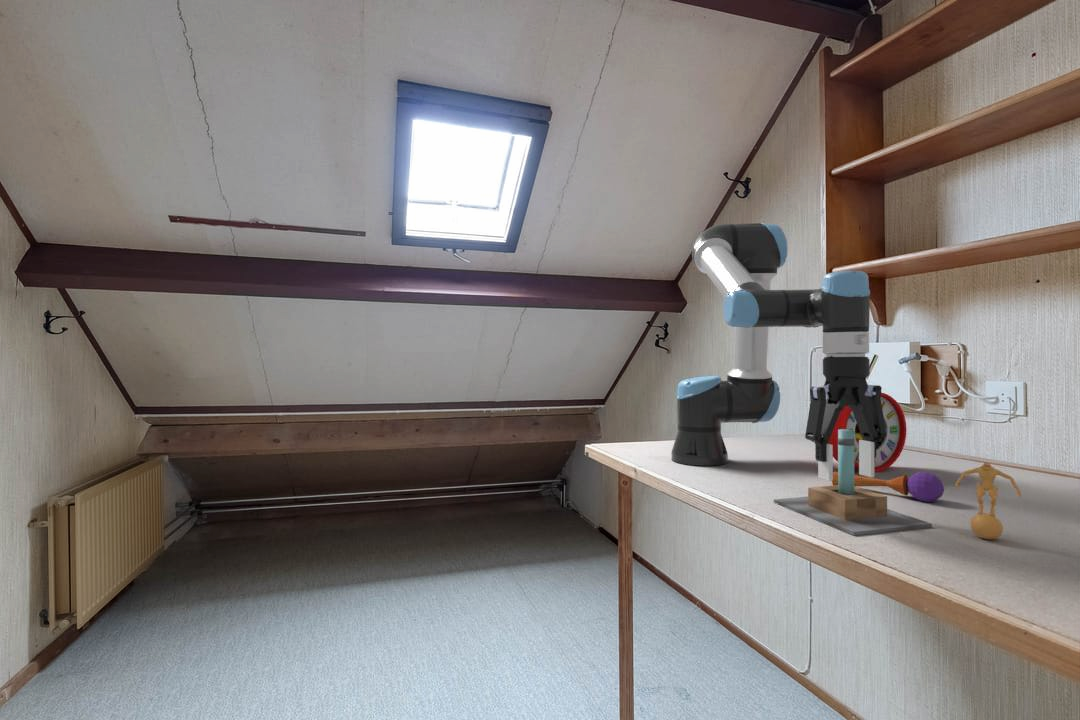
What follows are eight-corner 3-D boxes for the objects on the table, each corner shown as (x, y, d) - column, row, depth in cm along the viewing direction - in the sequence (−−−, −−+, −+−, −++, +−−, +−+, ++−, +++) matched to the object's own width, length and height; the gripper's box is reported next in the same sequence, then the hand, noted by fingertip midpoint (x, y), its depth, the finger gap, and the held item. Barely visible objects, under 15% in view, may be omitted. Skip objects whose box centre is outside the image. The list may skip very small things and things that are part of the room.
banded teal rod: (834, 509, 100) (834, 429, 99) (846, 508, 100) (846, 429, 100) (845, 513, 97) (845, 431, 97) (858, 512, 98) (858, 431, 97)
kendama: (839, 466, 122) (946, 473, 107) (839, 492, 121) (947, 504, 106) (829, 464, 118) (938, 472, 103) (829, 492, 117) (939, 504, 102)
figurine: (952, 536, 86) (952, 462, 86) (956, 526, 91) (956, 457, 91) (1021, 548, 81) (1021, 469, 81) (1021, 537, 85) (1021, 463, 85)
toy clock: (843, 475, 129) (843, 393, 128) (824, 470, 134) (824, 391, 134) (906, 469, 134) (906, 390, 134) (885, 464, 140) (885, 389, 140)
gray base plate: (773, 502, 107) (773, 482, 106) (840, 496, 110) (840, 476, 110) (853, 535, 87) (853, 510, 87) (931, 527, 91) (931, 503, 91)
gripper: (811, 356, 92) (812, 486, 92) (910, 354, 97) (911, 478, 97) (782, 356, 99) (783, 476, 100) (876, 354, 104) (876, 469, 105)
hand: (846, 477), depth 99 cm, fingers open, 8 cm apart
